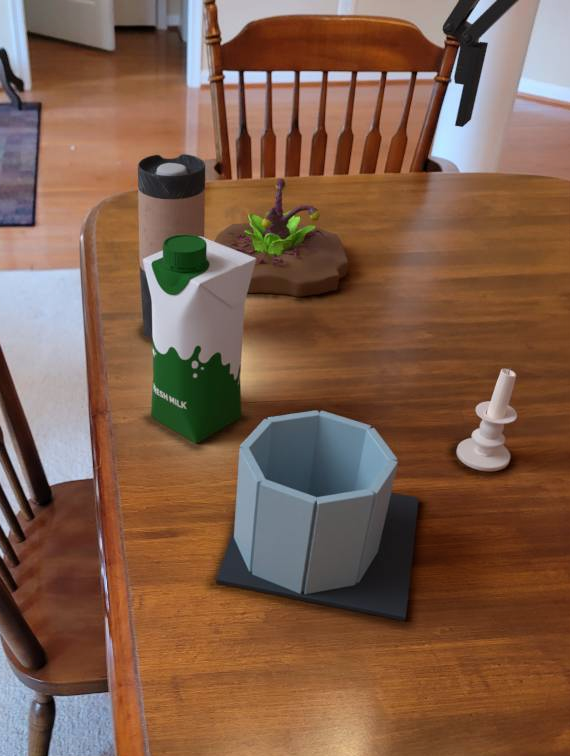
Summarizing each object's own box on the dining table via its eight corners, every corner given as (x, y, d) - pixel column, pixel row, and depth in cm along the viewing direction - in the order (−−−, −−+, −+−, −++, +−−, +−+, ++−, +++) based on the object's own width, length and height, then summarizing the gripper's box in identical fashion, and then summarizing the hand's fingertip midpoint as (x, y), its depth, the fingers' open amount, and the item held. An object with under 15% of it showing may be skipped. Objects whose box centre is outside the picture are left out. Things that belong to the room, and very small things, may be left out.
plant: (347, 241, 124) (358, 163, 117) (345, 301, 110) (357, 217, 103) (214, 232, 127) (216, 155, 119) (195, 290, 113) (196, 207, 105)
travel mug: (173, 351, 101) (174, 181, 87) (128, 330, 105) (122, 165, 91) (214, 328, 105) (220, 163, 92) (169, 309, 109) (169, 147, 95)
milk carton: (138, 417, 91) (132, 236, 77) (196, 386, 95) (200, 210, 82) (196, 451, 86) (201, 265, 72) (254, 416, 91) (269, 235, 77)
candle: (494, 438, 87) (522, 350, 80) (518, 468, 83) (550, 378, 76) (447, 444, 87) (471, 355, 80) (469, 474, 83) (496, 384, 76)
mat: (417, 501, 80) (418, 497, 79) (404, 621, 69) (406, 617, 68) (253, 473, 83) (254, 469, 83) (215, 583, 72) (215, 579, 72)
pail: (283, 398, 74) (218, 469, 67) (413, 438, 70) (359, 519, 62) (273, 485, 81) (214, 559, 73) (392, 527, 76) (341, 610, 69)
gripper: (440, -168, 65) (392, 124, 80) (807, -161, 56) (677, 169, 70) (468, -172, 70) (418, 104, 84) (811, -167, 60) (688, 144, 75)
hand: (535, 134), depth 77 cm, fingers open, 13 cm apart
